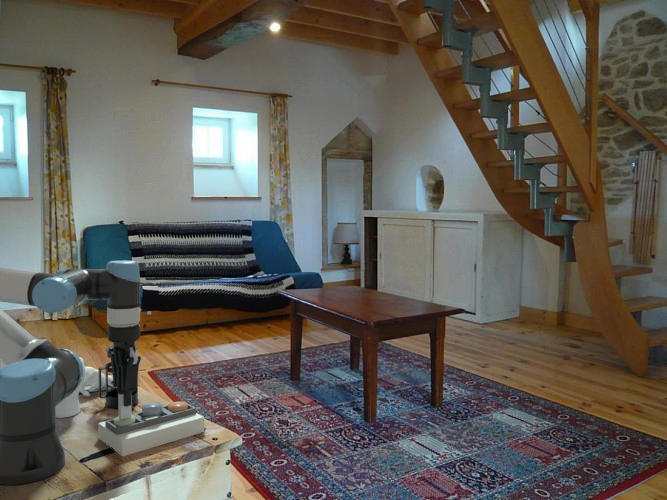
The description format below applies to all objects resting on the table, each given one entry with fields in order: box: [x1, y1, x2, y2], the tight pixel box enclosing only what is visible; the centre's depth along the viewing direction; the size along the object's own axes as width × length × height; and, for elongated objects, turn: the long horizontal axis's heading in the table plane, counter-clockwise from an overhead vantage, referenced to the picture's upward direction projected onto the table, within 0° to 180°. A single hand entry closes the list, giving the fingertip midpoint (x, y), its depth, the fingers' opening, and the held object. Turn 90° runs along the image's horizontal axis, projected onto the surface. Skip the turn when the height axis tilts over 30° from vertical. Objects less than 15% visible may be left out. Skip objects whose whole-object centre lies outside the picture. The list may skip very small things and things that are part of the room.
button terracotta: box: [168, 401, 189, 413], centre depth 150 cm, size 5×5×2 cm
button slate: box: [141, 401, 163, 417], centre depth 145 cm, size 5×5×2 cm
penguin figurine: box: [79, 366, 113, 397], centre depth 177 cm, size 6×8×12 cm
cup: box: [55, 356, 86, 419], centre depth 158 cm, size 11×11×15 cm
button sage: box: [113, 415, 135, 428], centre depth 140 cm, size 5×5×2 cm
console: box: [97, 401, 205, 457], centre depth 145 cm, size 22×14×6 cm, turn 135°
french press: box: [98, 344, 140, 410], centre depth 166 cm, size 12×9×23 cm
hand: (125, 417), depth 140 cm, fingers closed
